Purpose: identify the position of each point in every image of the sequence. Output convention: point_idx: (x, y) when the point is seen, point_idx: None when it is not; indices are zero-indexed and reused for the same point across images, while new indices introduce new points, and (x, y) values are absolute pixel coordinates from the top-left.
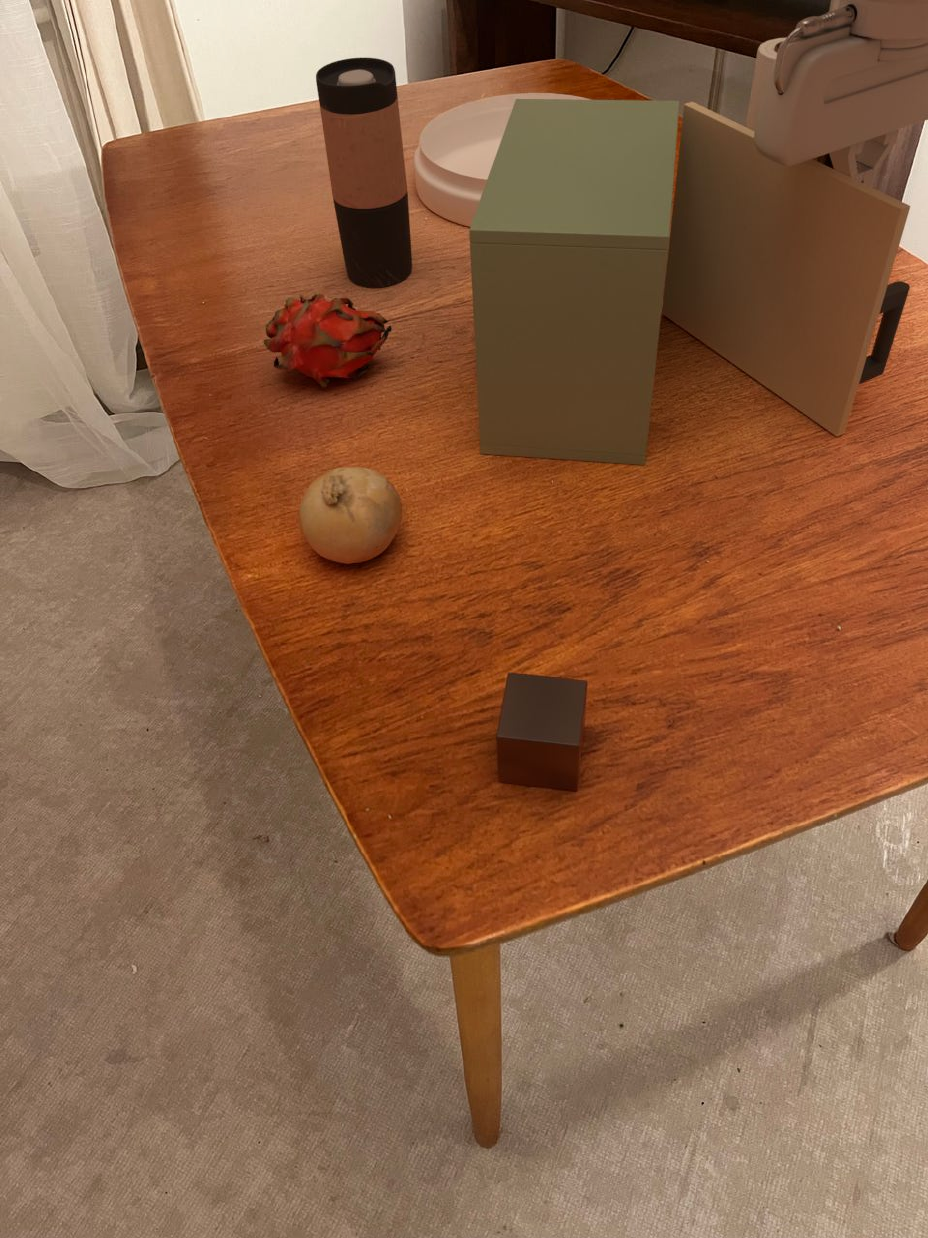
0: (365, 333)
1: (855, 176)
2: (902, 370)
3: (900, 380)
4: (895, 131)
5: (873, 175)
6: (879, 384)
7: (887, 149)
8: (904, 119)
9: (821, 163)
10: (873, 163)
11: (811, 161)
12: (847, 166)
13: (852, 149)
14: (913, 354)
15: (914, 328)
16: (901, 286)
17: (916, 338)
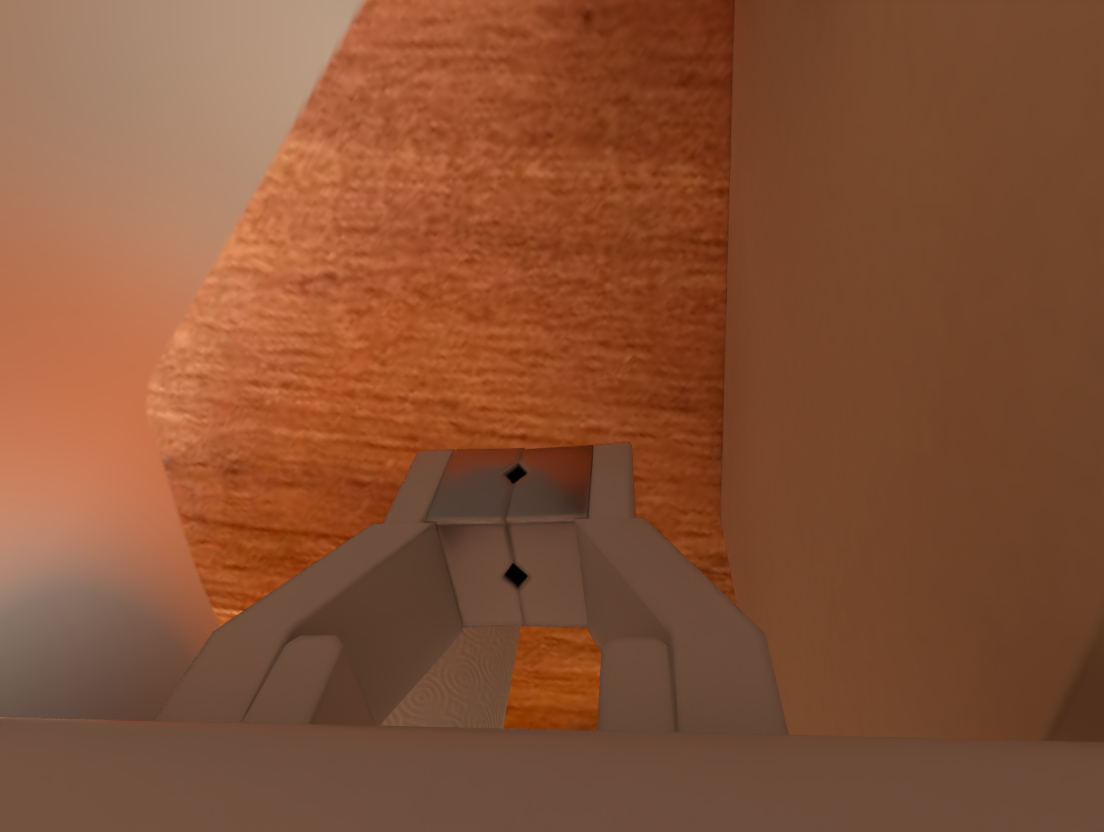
0: None
1: (595, 506)
2: (385, 57)
3: (416, 15)
4: (202, 712)
5: (427, 487)
6: (480, 29)
7: (305, 597)
8: (90, 814)
9: (1080, 668)
10: (420, 549)
11: (1102, 722)
12: (701, 578)
13: (739, 690)
14: (318, 108)
15: (258, 207)
16: None
17: (274, 167)
